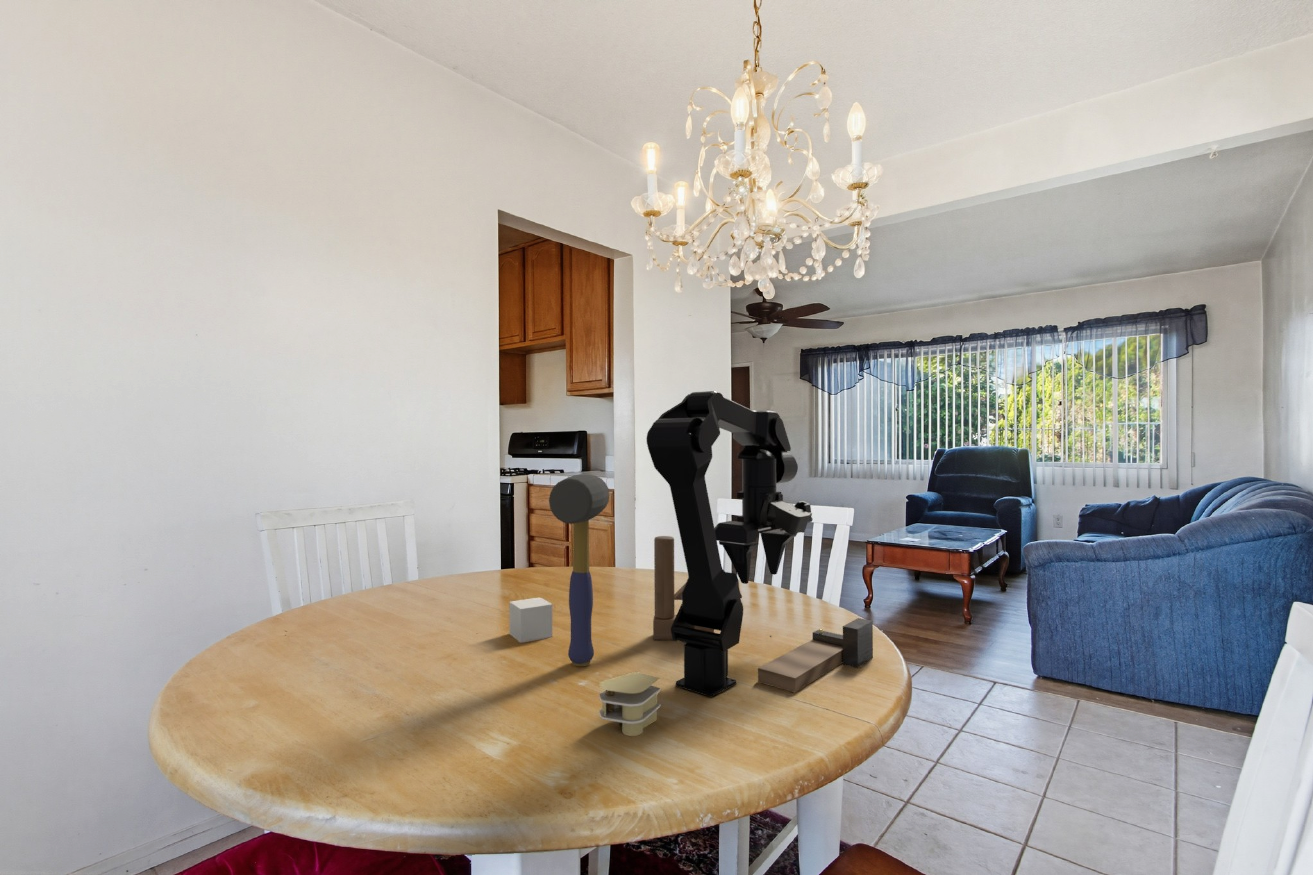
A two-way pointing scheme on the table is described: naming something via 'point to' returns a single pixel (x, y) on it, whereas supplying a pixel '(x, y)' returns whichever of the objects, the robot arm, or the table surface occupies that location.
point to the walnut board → (801, 665)
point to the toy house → (630, 701)
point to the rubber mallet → (580, 553)
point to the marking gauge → (851, 641)
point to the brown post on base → (665, 589)
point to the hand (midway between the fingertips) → (759, 578)
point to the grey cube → (530, 619)
